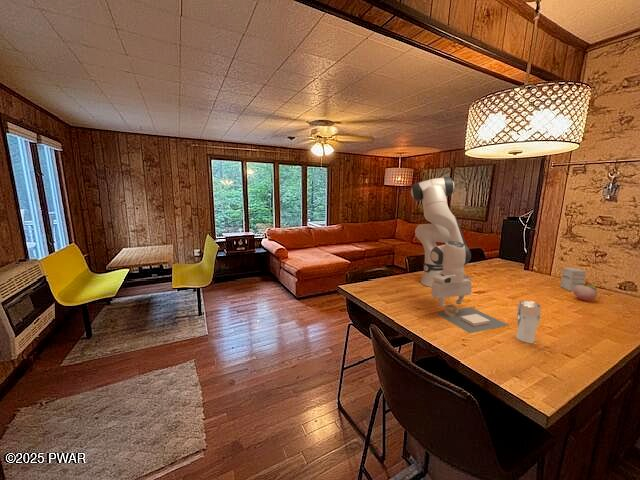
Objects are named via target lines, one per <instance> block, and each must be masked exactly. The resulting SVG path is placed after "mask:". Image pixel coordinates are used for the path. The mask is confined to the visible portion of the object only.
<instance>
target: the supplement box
mask: <svg viewBox="0 0 640 480" xmlns="http://www.w3.org/2000/svg"><path fill="white" fill-rule="evenodd" d="M586 274H587V271H586V270H584V269H580V268H577V267H563V268H562V274H561V279H560V288H563V289H565V290H567V291H569V292H573V289H574V287H575V286H576V285H575V284H585V280H586V279H585V278H586Z"/></svg>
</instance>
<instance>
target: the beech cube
mask: <svg viewBox="0 0 640 480" xmlns="http://www.w3.org/2000/svg"><path fill="white" fill-rule="evenodd" d="M459 309H460V307H458V306H456V305H453V304H447V305H446V304H445V306H444V311H445V314H447V315H448V316H450V317H455V316H458V311H459Z"/></svg>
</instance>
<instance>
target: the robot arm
mask: <svg viewBox="0 0 640 480" xmlns="http://www.w3.org/2000/svg"><path fill="white" fill-rule="evenodd" d="M454 191H455V182H454V181H453V179H452V178H451V176H444V177H437V178H436V177H435V178H431V179H427V180H423V181H420V182H419V181H418V182H415V183H413V184H412V186H411V190H410V195H411V197H412V199H413V200H414V201H416V202H422V208H423V216H424V219H425V220H426V221H427V222H430V223H421V224H418V225H417V226H416V228H415V229H414V233H415V234H414V236H415V238H416V239H418V240H419V241H420V242H421V244H422V246H423V250H424V262H423V272H422V277H421V281H420V284H421V285H423V286H427V287H429V288H431V289H430V294H431V296H432V297H433V298H436V299H438V302H439V306H440V307H441V308H442V307H445V306H446V302H444V299H445V298H453V297H458V298H457V299H456V301H455V303H456V305H462V302H463V300H464V298H465V296H470V295H471V294H472V291H473V290H472V288H473V286H472V278H471V276H470V275H467V274H465V266H466V265H468V264H469V262H470V261H471V259H472V253H471V250H470V248H469V247H468V245H467V243H466V240H465V238H464V237H465V236H464V235H463V231H462V229H461V225H460V223H459V221H458V218H457V217H456V216H455V215H454V214H453V212H451V210H450V208H449V206H448V199H447V197H448V196H451V195H453V194H454ZM437 243H444V244H442V245H437Z"/></svg>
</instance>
